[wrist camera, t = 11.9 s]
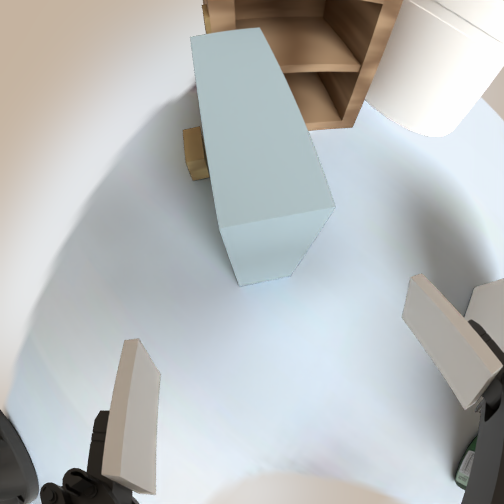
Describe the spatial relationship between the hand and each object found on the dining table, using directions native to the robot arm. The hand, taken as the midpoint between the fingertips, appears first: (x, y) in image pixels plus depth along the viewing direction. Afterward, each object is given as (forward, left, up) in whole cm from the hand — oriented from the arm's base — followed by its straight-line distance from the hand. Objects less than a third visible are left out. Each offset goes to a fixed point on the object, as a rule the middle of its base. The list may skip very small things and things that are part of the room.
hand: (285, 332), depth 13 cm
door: (0, +10, -9) cm, 13 cm away
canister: (+23, +24, -9) cm, 34 cm away
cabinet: (+4, +20, -9) cm, 22 cm away
